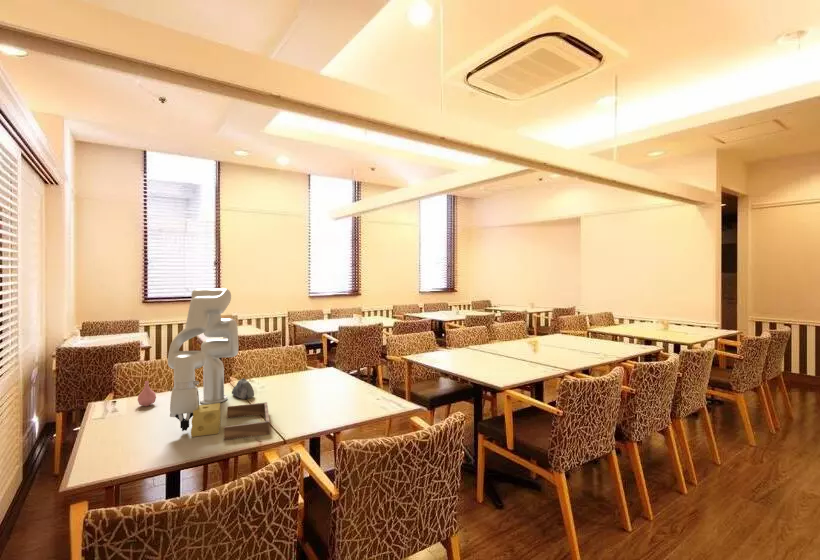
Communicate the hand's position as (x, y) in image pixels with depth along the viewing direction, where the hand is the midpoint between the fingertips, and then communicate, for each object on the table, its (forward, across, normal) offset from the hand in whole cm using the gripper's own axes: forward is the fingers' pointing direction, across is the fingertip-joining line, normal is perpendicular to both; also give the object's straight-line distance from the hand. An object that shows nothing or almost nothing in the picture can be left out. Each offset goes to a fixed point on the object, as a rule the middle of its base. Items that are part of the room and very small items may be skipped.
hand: (184, 429), depth 166 cm
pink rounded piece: (+2, +23, -45) cm, 50 cm away
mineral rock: (+2, -21, -45) cm, 49 cm away
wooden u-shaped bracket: (+2, -24, 0) cm, 24 cm away
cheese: (+2, -8, 0) cm, 8 cm away
